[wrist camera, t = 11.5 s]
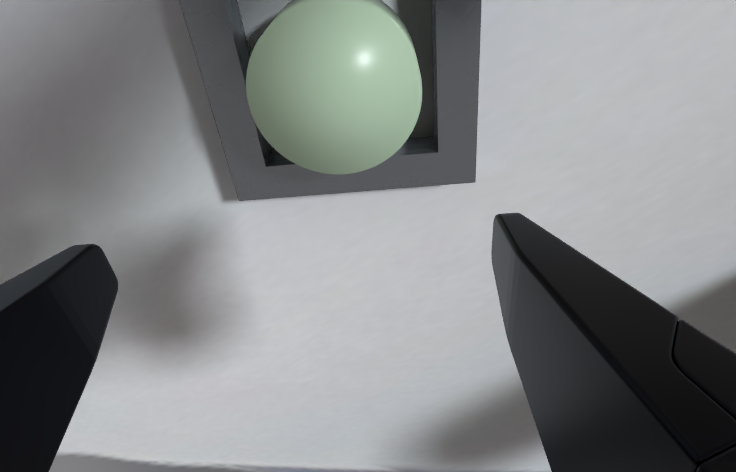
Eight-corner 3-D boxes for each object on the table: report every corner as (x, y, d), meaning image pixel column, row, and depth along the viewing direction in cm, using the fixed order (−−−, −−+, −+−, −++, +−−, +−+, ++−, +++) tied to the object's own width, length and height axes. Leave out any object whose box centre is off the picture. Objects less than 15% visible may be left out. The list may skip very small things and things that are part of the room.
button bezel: (476, -115, 15) (485, -115, 14) (469, 165, 21) (475, 182, 20) (173, -78, 16) (156, -76, 15) (246, 183, 22) (239, 200, 21)
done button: (413, -23, 16) (418, -10, 14) (420, 137, 19) (424, 167, 17) (244, -5, 16) (225, 11, 14) (278, 149, 19) (267, 180, 17)
